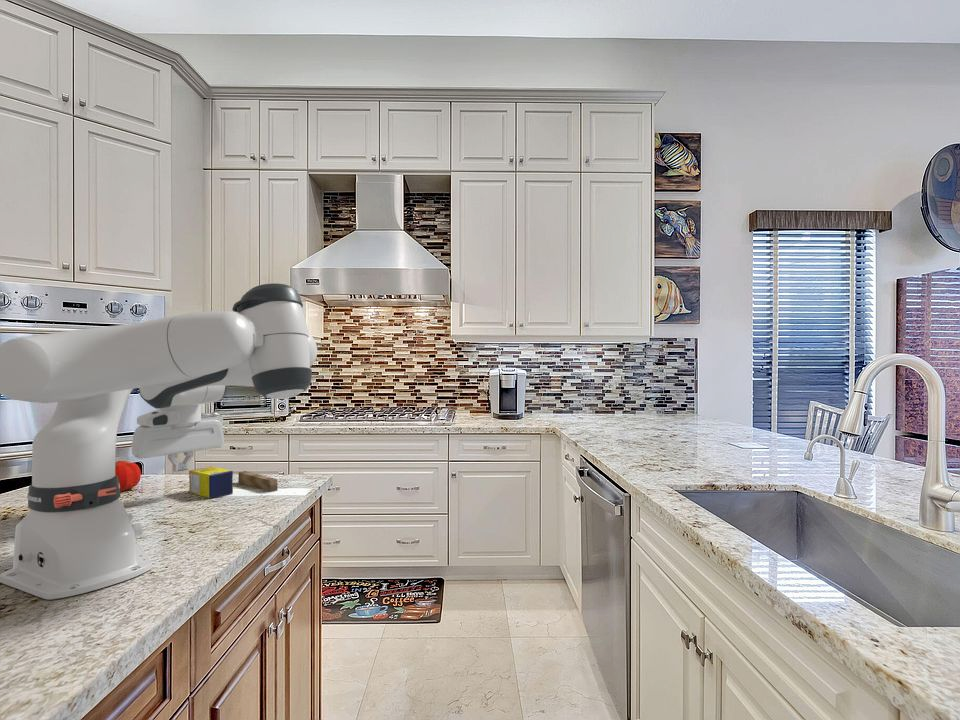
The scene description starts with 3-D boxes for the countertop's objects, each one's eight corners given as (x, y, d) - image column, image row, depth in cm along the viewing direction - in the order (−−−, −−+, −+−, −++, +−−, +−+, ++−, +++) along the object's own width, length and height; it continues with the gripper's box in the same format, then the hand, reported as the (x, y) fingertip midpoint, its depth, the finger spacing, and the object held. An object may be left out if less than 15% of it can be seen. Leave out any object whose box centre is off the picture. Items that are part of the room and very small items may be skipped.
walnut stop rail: (277, 490, 132) (277, 479, 132) (270, 491, 130) (270, 480, 130) (245, 481, 141) (245, 471, 141) (238, 482, 139) (238, 472, 139)
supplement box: (233, 470, 128) (211, 465, 134) (210, 475, 123) (188, 469, 129) (233, 493, 128) (210, 487, 134) (210, 499, 123) (188, 492, 129)
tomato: (88, 490, 131) (88, 462, 131) (137, 483, 138) (137, 457, 138) (92, 498, 123) (92, 469, 123) (144, 491, 130) (144, 463, 130)
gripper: (216, 411, 133) (216, 462, 133) (129, 418, 116) (128, 476, 116) (228, 412, 129) (228, 465, 129) (139, 420, 113) (139, 480, 113)
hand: (180, 470), depth 123 cm, fingers closed
